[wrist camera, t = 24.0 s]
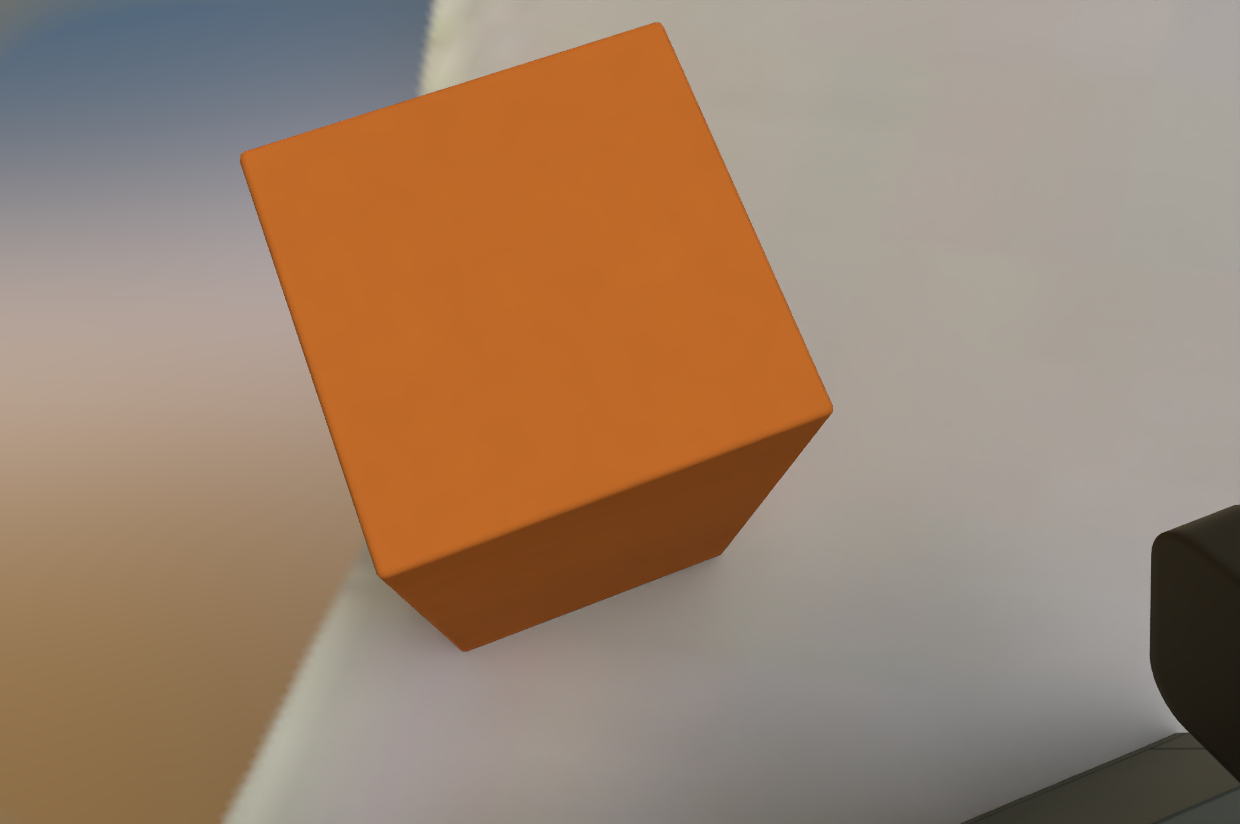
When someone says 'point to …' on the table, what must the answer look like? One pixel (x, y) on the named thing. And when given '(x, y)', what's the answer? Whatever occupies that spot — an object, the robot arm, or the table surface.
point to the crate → (1135, 791)
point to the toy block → (538, 333)
